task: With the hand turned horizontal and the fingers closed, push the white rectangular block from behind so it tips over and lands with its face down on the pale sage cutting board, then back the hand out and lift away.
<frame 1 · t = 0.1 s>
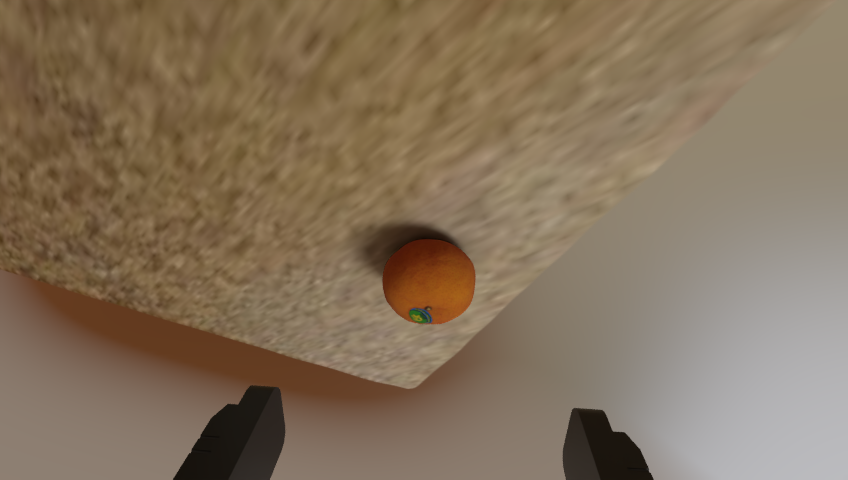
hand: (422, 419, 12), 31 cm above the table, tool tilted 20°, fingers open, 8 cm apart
fruit: (430, 254, 54), on the table
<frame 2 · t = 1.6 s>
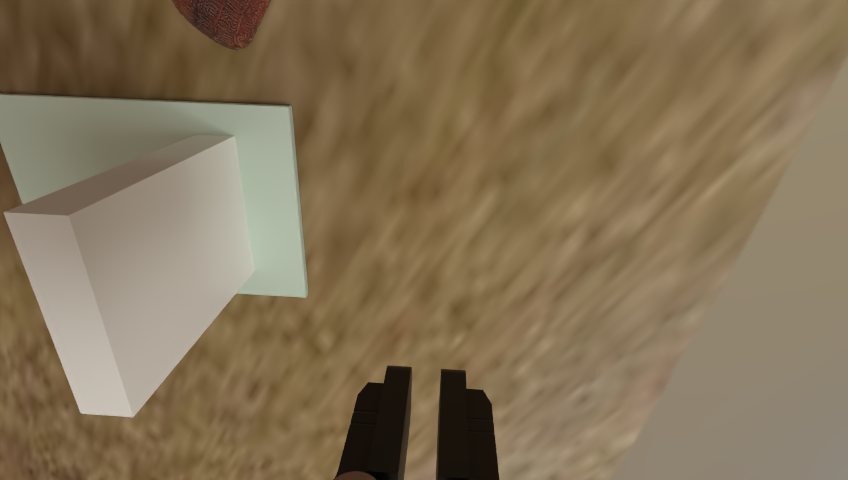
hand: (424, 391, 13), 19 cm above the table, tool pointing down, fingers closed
cutting board: (162, 200, 32), on the table
white rectangular block: (227, 207, 32), point 1 cm above the table, touching cutting board
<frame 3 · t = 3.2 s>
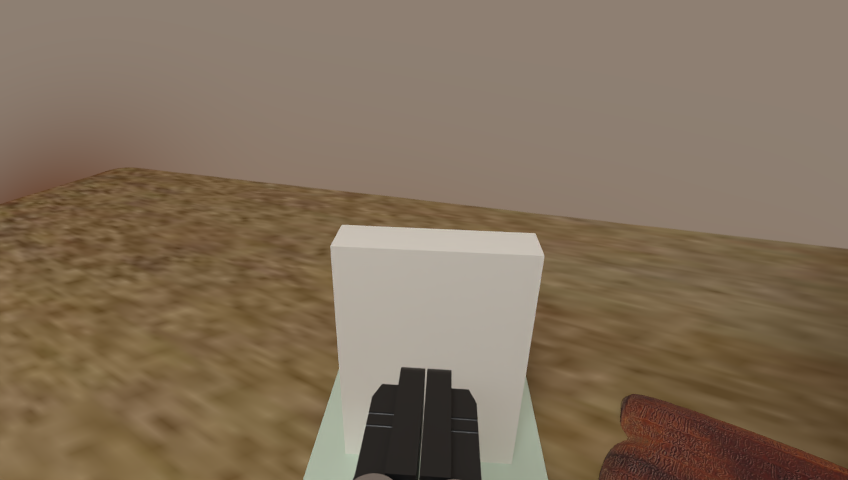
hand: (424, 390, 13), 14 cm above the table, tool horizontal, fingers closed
cutting board: (431, 390, 33), on the table
white rectangular block: (428, 441, 28), point 1 cm above the table, touching cutting board
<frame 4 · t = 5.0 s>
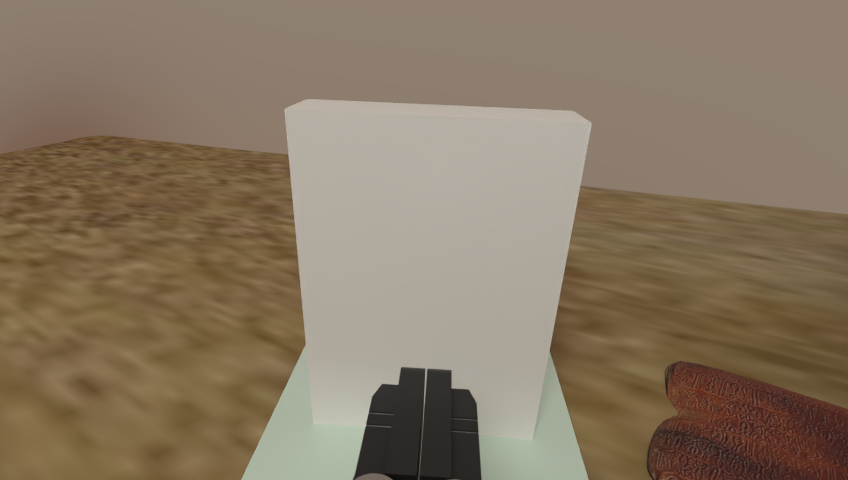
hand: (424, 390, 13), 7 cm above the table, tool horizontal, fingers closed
cutting board: (428, 353, 26), on the table
white rectangular block: (423, 410, 22), point 1 cm above the table, touching cutting board
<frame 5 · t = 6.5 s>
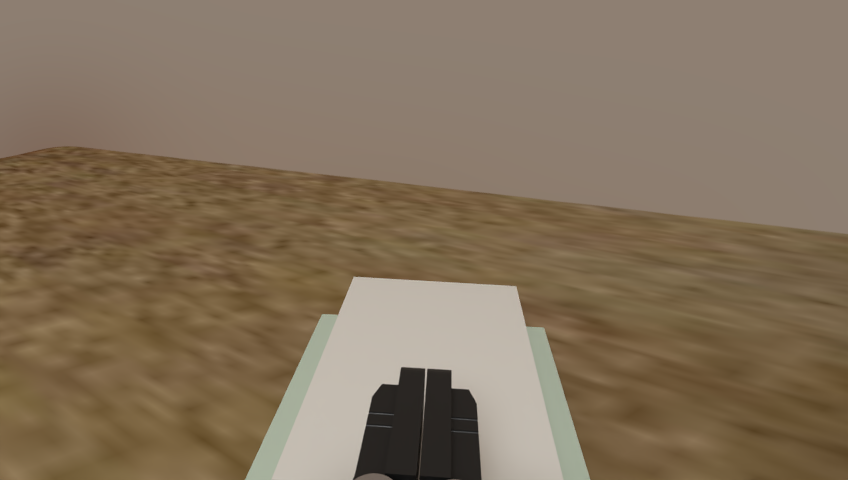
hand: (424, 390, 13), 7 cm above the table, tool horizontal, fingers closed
cutting board: (421, 465, 20), on the table
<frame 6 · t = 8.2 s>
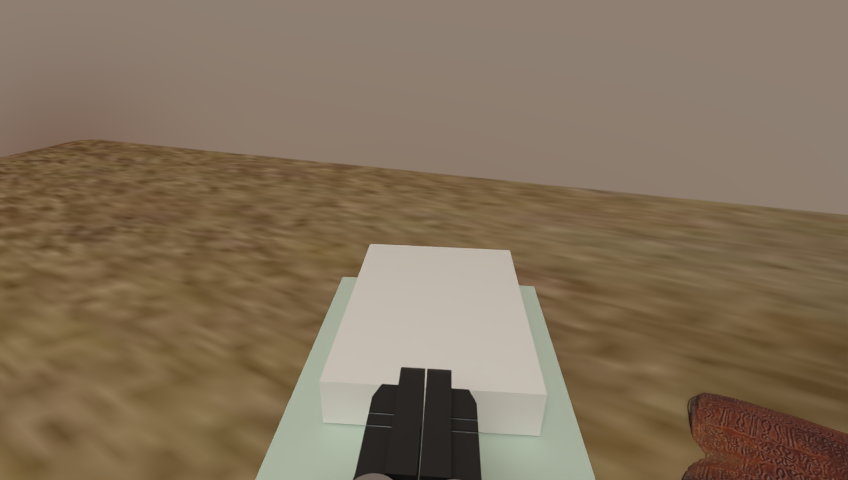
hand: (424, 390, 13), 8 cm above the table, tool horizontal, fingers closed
cutting board: (432, 385, 24), on the table
white rectangular block: (431, 409, 20), point 2 cm above the table, tilted 90°, touching cutting board
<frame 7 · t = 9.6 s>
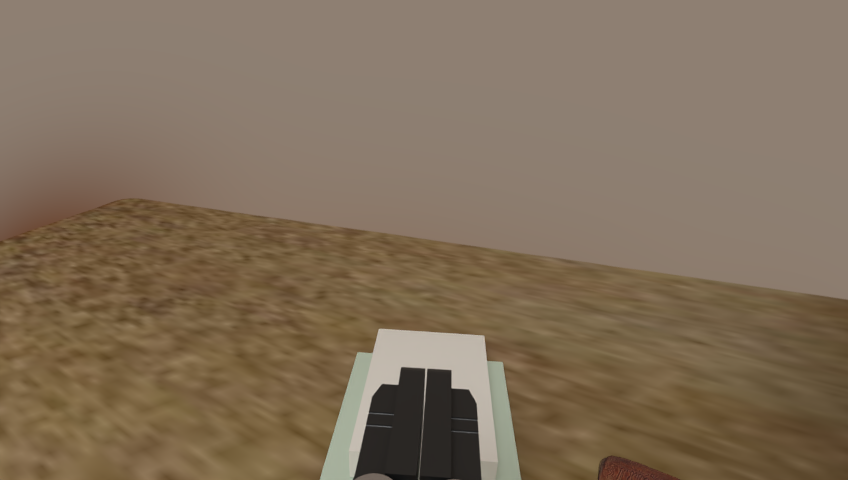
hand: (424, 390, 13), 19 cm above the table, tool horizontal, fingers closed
cutting board: (423, 447, 35), on the table
white rectangular block: (422, 469, 31), point 2 cm above the table, tilted 90°, touching cutting board
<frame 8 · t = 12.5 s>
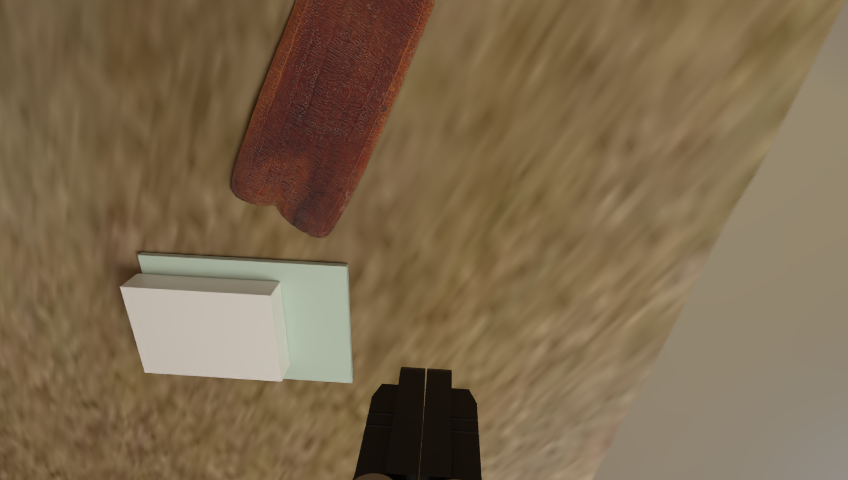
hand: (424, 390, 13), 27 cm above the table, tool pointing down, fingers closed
wooden tablet: (338, 82, 37), on the table
cutting board: (253, 319, 46), on the table
white rectangular block: (280, 332, 44), point 2 cm above the table, tilted 90°, touching cutting board
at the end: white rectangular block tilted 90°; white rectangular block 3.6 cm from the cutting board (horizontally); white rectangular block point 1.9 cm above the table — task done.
